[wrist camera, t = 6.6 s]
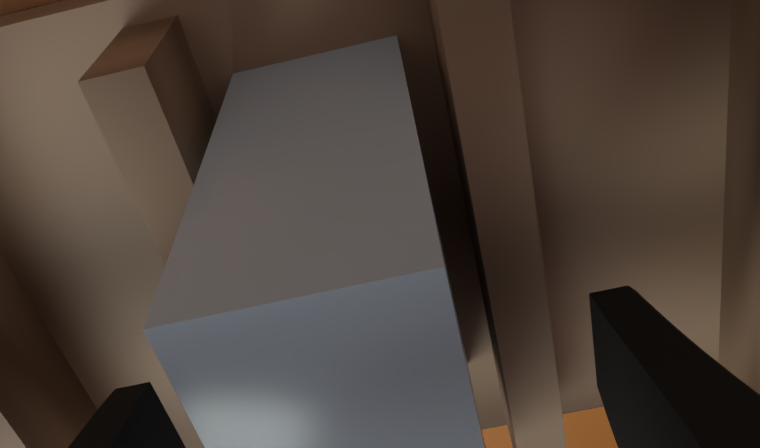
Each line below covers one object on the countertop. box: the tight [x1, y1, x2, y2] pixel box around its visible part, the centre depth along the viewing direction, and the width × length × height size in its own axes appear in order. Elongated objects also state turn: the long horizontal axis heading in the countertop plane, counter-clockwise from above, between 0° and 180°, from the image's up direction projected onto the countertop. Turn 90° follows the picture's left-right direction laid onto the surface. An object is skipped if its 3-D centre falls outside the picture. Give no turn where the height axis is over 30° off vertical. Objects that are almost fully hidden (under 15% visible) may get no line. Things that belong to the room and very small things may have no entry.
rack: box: [0, 0, 760, 448], centre depth 15 cm, size 12×18×4 cm, turn 103°
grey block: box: [143, 35, 486, 448], centre depth 12 cm, size 8×3×7 cm, turn 13°
